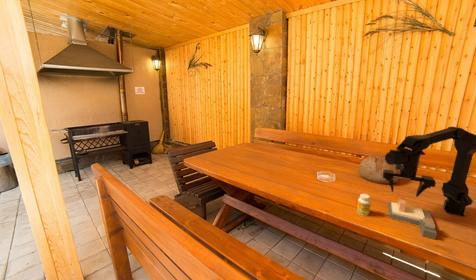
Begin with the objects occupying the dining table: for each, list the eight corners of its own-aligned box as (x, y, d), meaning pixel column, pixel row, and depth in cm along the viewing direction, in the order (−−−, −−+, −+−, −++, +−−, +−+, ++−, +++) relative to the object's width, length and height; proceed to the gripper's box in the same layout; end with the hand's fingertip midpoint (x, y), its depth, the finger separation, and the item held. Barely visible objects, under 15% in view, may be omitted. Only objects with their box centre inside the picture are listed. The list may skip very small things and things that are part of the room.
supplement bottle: (364, 209, 105) (366, 192, 103) (371, 215, 100) (374, 198, 98) (354, 210, 105) (356, 193, 103) (360, 216, 100) (363, 198, 98)
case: (428, 215, 100) (429, 209, 99) (438, 240, 83) (440, 234, 83) (388, 205, 108) (388, 200, 107) (390, 227, 92) (391, 221, 91)
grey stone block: (431, 223, 89) (432, 219, 89) (434, 229, 85) (435, 225, 85) (422, 220, 91) (423, 216, 90) (424, 227, 87) (425, 223, 86)
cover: (421, 210, 100) (423, 200, 99) (425, 221, 92) (428, 211, 90) (391, 203, 106) (392, 194, 105) (392, 213, 98) (394, 203, 97)
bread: (360, 167, 159) (362, 148, 155) (398, 174, 146) (401, 154, 142) (355, 179, 139) (358, 158, 135) (398, 188, 125) (403, 166, 121)
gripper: (433, 161, 96) (426, 191, 100) (384, 155, 106) (380, 182, 110) (439, 169, 87) (431, 202, 91) (385, 162, 97) (380, 191, 101)
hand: (404, 193), depth 98 cm, fingers open, 9 cm apart
